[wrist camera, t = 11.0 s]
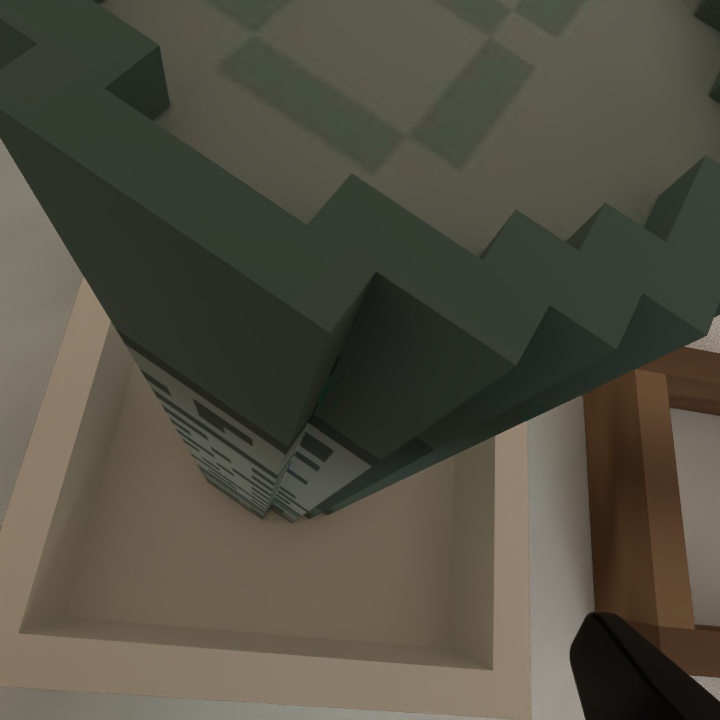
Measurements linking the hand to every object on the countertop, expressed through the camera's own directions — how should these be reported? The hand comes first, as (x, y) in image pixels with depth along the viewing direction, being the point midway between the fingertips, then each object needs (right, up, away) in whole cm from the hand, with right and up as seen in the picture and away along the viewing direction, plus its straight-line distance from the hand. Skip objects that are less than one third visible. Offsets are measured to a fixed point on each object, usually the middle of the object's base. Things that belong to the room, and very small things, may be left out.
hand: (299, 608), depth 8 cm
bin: (-1, +1, +10) cm, 10 cm away
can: (-1, +1, +10) cm, 10 cm away
